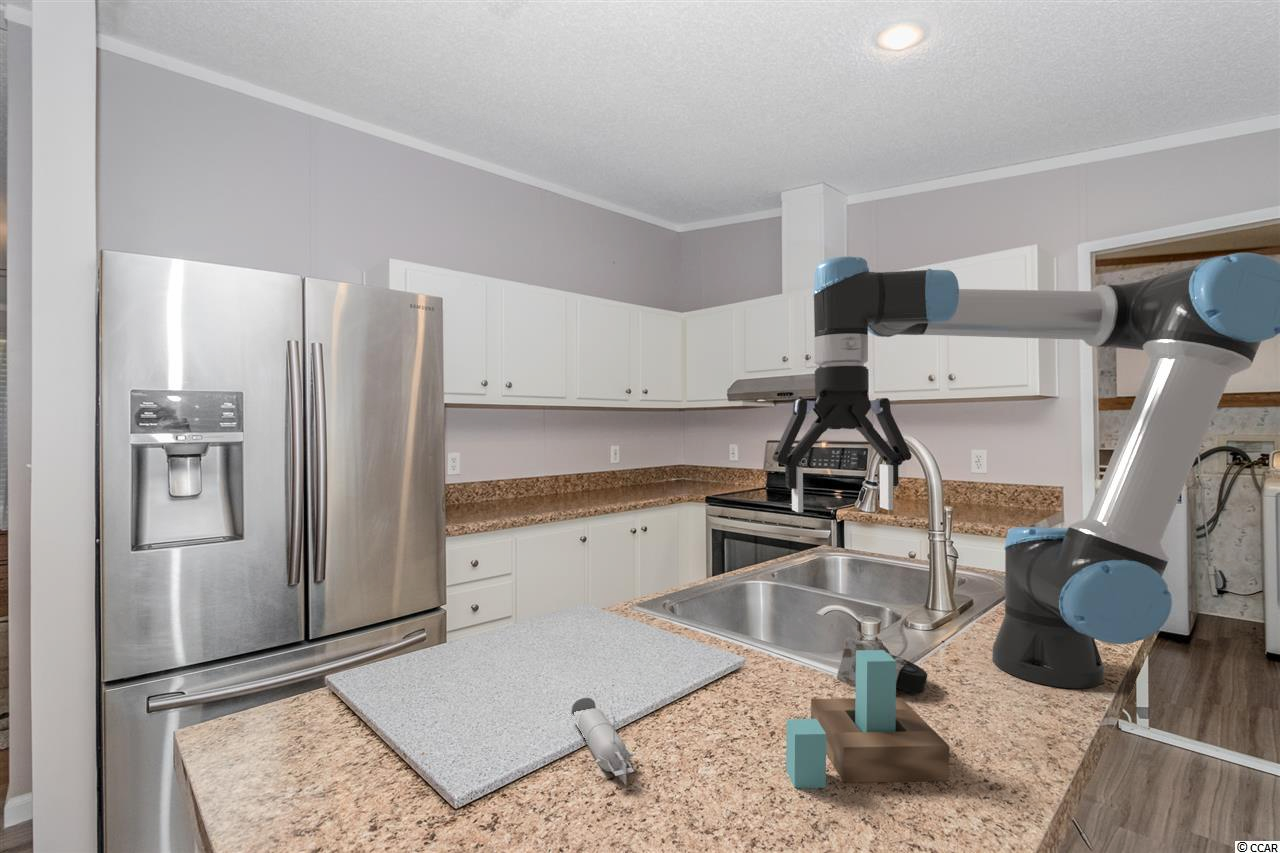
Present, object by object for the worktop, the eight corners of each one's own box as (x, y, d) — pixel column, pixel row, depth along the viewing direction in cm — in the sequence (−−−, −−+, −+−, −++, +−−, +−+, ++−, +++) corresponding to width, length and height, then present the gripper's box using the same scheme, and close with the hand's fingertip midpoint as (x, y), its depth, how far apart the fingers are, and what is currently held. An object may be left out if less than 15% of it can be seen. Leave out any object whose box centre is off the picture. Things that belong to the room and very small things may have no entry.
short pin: (815, 769, 74) (816, 718, 73) (825, 787, 70) (826, 733, 70) (786, 770, 73) (786, 719, 73) (794, 788, 70) (795, 734, 70)
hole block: (901, 727, 83) (901, 697, 83) (948, 780, 71) (949, 745, 71) (810, 729, 83) (811, 699, 83) (843, 782, 71) (843, 747, 71)
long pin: (882, 745, 79) (883, 650, 79) (895, 760, 75) (896, 661, 75) (855, 745, 79) (855, 650, 78) (866, 761, 75) (867, 661, 75)
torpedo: (562, 721, 85) (562, 673, 85) (595, 715, 87) (595, 668, 87) (605, 796, 69) (605, 736, 68) (646, 786, 70) (646, 728, 70)
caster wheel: (923, 698, 98) (913, 714, 89) (850, 667, 104) (834, 679, 95) (934, 657, 98) (925, 669, 89) (861, 628, 104) (846, 637, 95)
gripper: (765, 364, 88) (767, 516, 89) (936, 363, 90) (936, 511, 91) (751, 368, 96) (752, 508, 96) (909, 367, 98) (909, 504, 98)
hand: (842, 510), depth 93 cm, fingers open, 13 cm apart
